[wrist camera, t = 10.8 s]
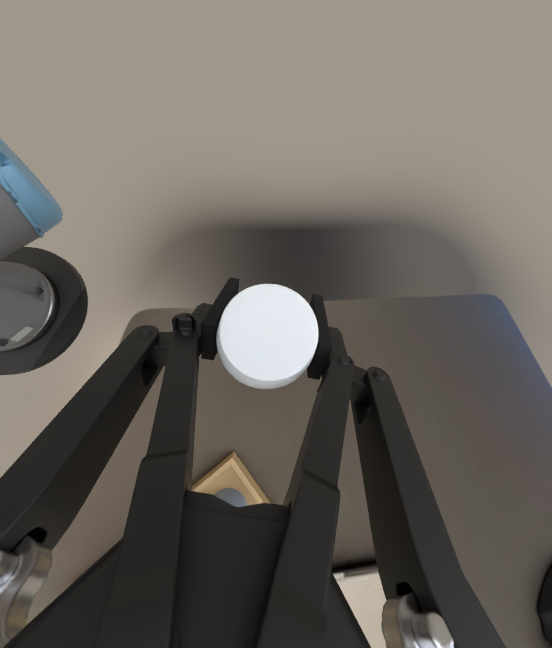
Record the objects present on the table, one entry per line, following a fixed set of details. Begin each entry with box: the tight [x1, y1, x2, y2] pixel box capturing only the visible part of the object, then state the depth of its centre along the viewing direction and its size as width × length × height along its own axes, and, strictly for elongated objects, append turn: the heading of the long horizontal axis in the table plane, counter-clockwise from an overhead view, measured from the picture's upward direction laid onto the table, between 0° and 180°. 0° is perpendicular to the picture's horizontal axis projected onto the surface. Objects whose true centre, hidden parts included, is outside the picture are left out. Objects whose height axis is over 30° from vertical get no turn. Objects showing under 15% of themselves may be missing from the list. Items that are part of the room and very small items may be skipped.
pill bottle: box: [216, 284, 318, 389], centre depth 15 cm, size 6×6×11 cm
